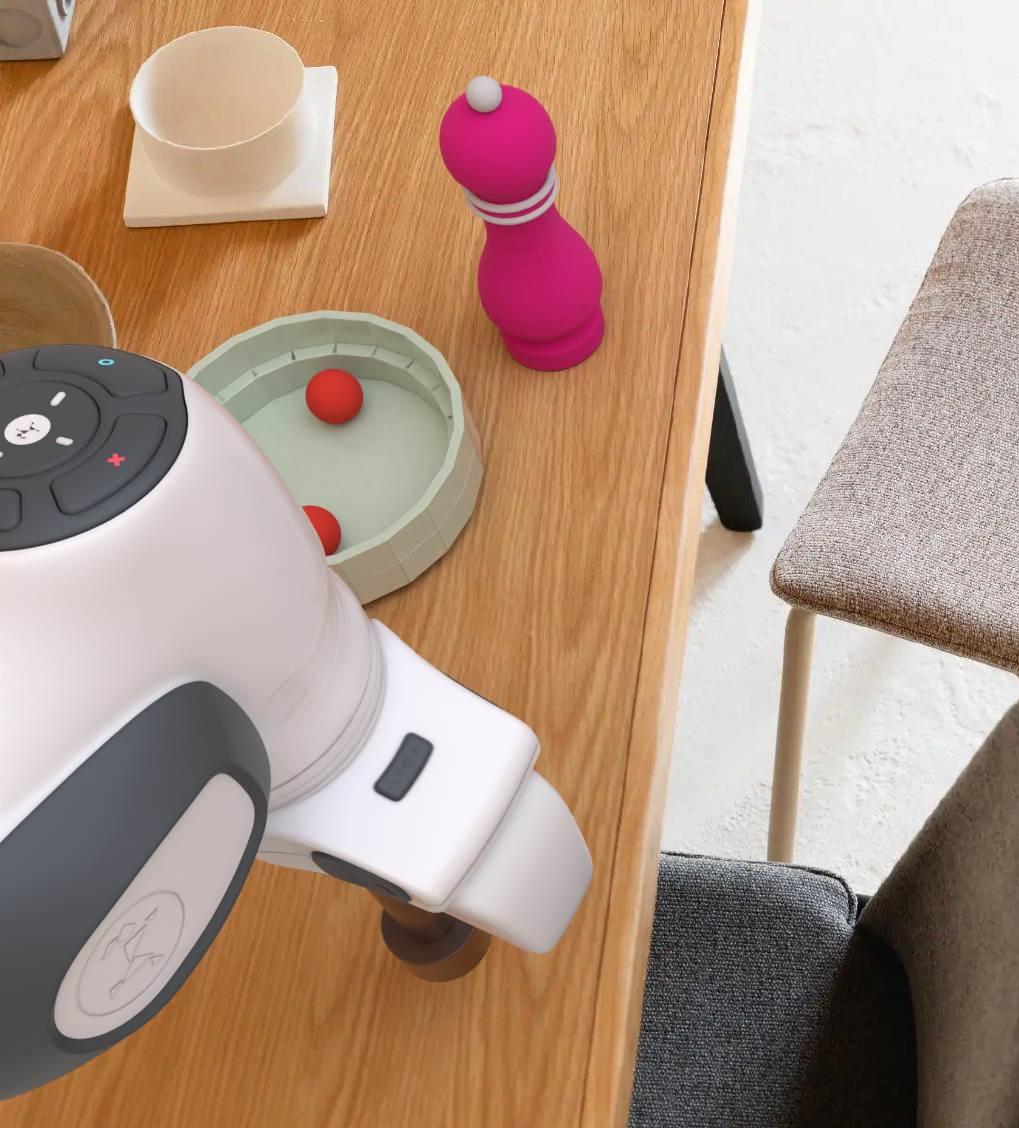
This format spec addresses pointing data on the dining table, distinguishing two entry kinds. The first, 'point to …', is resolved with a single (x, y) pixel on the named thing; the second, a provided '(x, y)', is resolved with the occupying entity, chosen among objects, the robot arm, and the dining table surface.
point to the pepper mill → (523, 227)
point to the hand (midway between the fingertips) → (379, 856)
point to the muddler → (431, 940)
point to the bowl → (359, 437)
